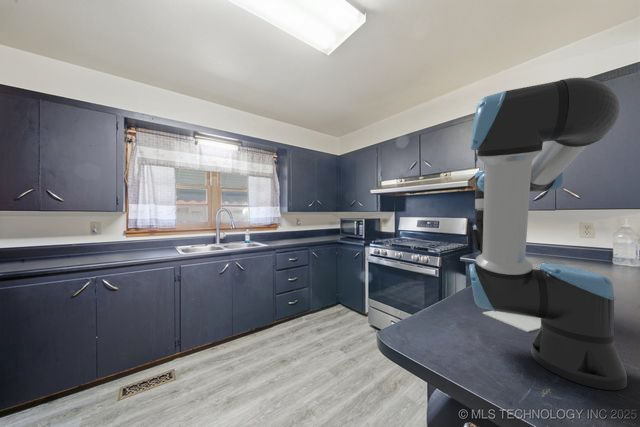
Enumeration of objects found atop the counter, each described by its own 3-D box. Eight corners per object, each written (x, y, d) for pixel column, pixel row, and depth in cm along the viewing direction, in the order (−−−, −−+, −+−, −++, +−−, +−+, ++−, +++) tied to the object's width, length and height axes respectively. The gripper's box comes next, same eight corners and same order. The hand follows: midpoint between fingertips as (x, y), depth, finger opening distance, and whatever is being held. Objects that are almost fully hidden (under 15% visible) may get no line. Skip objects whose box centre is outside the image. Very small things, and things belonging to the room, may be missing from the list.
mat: (527, 332, 72) (527, 331, 72) (482, 313, 85) (482, 312, 85) (567, 321, 78) (567, 320, 78) (519, 305, 91) (519, 304, 91)
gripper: (510, 209, 89) (510, 271, 89) (477, 209, 101) (477, 264, 102) (497, 209, 87) (497, 273, 87) (464, 209, 99) (464, 266, 99)
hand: (486, 268), depth 94 cm, fingers closed
